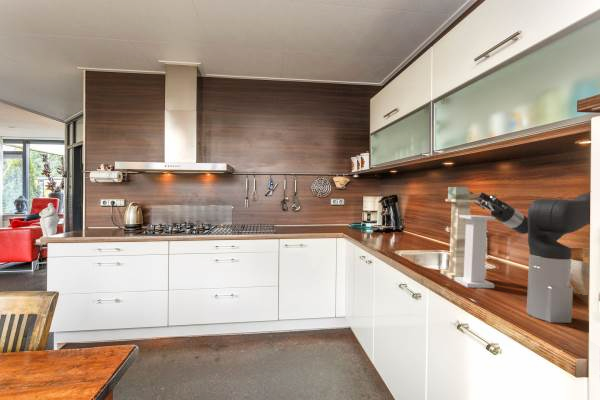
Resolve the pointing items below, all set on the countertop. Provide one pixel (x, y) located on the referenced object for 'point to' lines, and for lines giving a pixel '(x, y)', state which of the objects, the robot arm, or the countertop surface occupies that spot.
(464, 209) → the beige wooden post
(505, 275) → the countertop surface
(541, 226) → the robot arm
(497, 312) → the countertop surface
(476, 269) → the white pedestal stand
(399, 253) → the countertop surface
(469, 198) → the mallet
